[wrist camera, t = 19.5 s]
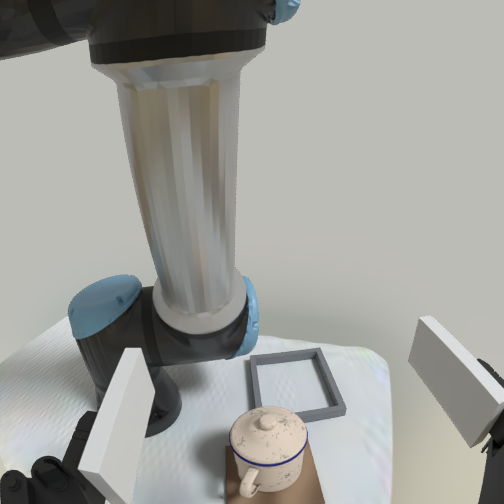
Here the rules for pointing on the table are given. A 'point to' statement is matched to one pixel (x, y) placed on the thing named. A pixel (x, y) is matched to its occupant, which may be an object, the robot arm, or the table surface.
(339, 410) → the holder tray
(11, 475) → the robot arm
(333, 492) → the table surface
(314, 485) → the walnut coaster
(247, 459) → the teacup with lid
